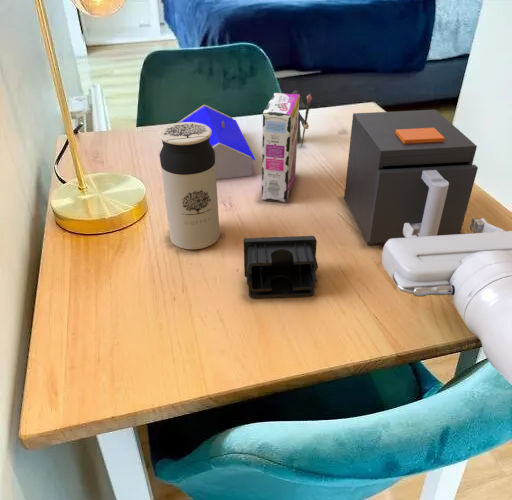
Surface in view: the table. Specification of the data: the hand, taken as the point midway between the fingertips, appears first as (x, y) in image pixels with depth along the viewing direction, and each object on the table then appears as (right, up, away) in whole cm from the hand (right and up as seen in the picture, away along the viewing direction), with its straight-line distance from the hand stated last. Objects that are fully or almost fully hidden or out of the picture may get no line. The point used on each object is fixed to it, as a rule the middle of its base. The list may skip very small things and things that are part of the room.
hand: (442, 224), depth 69 cm
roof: (-34, +16, +39) cm, 55 cm away
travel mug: (-35, -1, +14) cm, 38 cm away
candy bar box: (-21, +8, +27) cm, 35 cm away
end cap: (-22, -8, +4) cm, 24 cm away
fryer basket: (-1, +1, +14) cm, 14 cm away
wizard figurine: (-16, +21, +45) cm, 52 cm away
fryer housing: (-2, +2, +18) cm, 18 cm away
